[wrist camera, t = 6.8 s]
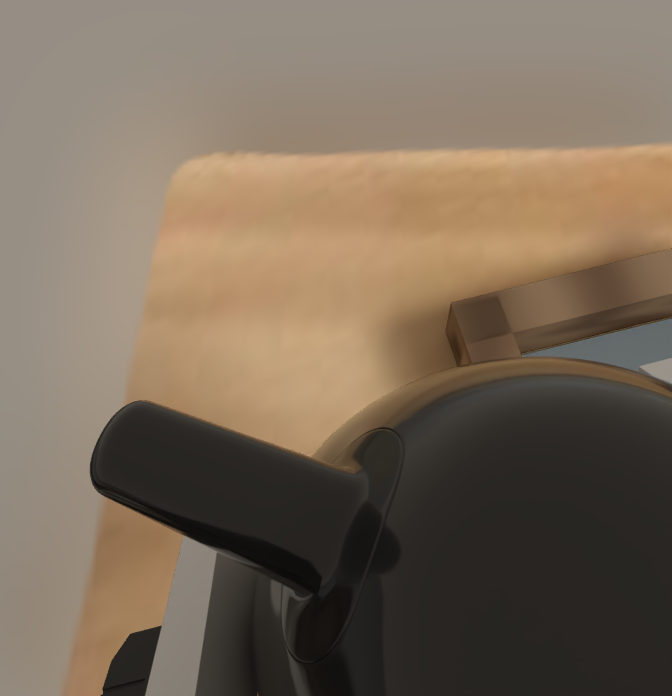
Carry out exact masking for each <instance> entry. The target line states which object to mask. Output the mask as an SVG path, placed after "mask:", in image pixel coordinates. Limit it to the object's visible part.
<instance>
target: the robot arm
mask: <svg viewBox="0 0 672 696" xmlns="http://www.w3.org/2000/svg"><path fill="white" fill-rule="evenodd" d="M639 372H642V373H645V374H648V375H651V376H654V377H657V378H659V379H662V380H665V381H667V382H670V383H672V358H669V359H665V360H661V361H658V362H654V363H650V364H646V365H642V366H639ZM257 573H258V572H256V571H254V570H252V569H250V568H248V567H246V566H244V565H242V564H240V563H238V562H236V561H234V560H232V559H230V558H228V557H226V556H224V555H222V554H220V553H218V552H216V551H214V550H212V549H210V548H208V547H206V546H204V545H202V544H200V543H198V542H196V541H194V540H192V539H190V538H188V537H186V536H183V540H182V544H181V548H180V552H179V557H178V561H177V565H176V569H175V573H174V577H173V582H172V586H171V590H170V594H169V598H168V602H167V607H166V611H165V615H164V619H163V623H162V626H159V627H155V628H151V629H147V630H143V631H139V632H135V633H132V634H130V635H129V636H128V638H127V639H126V641H125V642H124V644H123V645H122V647H121V648H120V649H119V651H118V652H117V654H116V655H115V657H114V658H113V660H112V661H111V664H110V667H109V671H108V674H107V677H106V680H105V683H104V686H103V695H101V696H257V685H256V679H255V672H254V663H253V650H252V614H253V601H254V592H255V585H256V579H257Z"/></svg>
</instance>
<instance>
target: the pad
mask: <svg viewBox="0 0 672 696" xmlns="http://www.w3.org/2000/svg"><path fill="white" fill-rule="evenodd" d="M531 356H545V357H565V358H575V359H583V360H590V361H596V362H602V363H607V364H611V365H616V366H620V367H624V368H628V369H631V370H635V371H638V372H639V366H642V365H646V364H650V363H654V362H658V361H661V360H665V359H669V358H672V318H671V319H666V320H662V321H658V322H654V323H650V324H646V325H642V326H638V327H634V328H630V329H626V330H622V331H618V332H614V333H610V334H606V335H602V336H598V337H594V338H590V339H586V340H582V341H578V342H574V343H570V344H566V345H561V346H557V347H553V348H549V349H545V350H541V351H537V352H533V353H529V354H525V355H522V357H531Z"/></svg>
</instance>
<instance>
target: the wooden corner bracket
mask: <svg viewBox="0 0 672 696" xmlns="http://www.w3.org/2000/svg"><path fill="white" fill-rule="evenodd" d="M671 316H672V248H671V249H667V250H663V251H659V252H655V253H651V254H647V255H643V256H639V257H635V258H631V259H627V260H623V261H619V262H615V263H611V264H607V265H603V266H598V267H594V268H590V269H586V270H582V271H578V272H574V273H570V274H566V275H562V276H558V277H554V278H550V279H546V280H542V281H538V282H534V283H530V284H526V285H521V286H517V287H513V288H509V289H505V290H501V291H497V292H493V293H489V294H485V295H481V296H477V297H473V298H469V299H465V300H461V301H457V302H453V303H451V306H450V311H449V316H448V321H447V326H446V333H447V336H448V339H449V342H450V345H451V348H452V351H453V354H454V357H455V360H456V362H457V365H458V366H461V365H465V364H469V363H474V362H480V361H485V360H492V359H500V358H511V357H522V355H521V353H525V352H529V351H533V350H537V349H541V348H545V347H549V346H553V345H557V344H562V343H566V342H570V341H574V340H578V339H582V338H586V337H590V336H594V335H598V334H602V333H606V332H610V331H614V330H618V329H622V328H626V327H630V326H634V325H638V324H642V323H646V322H650V321H654V320H658V319H662V318H667V317H671Z"/></svg>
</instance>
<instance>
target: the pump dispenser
mask: <svg viewBox="0 0 672 696" xmlns="http://www.w3.org/2000/svg"><path fill="white" fill-rule="evenodd" d="M90 476H91V481H92V484H93V486H94V488H95V489H96V490H97V491H98V493H100V494H101V495H103V496H105V497H107V498H109V499H111V500H113V501H115V502H117V503H119V504H121V505H123V506H125V507H127V508H129V509H131V510H133V511H135V512H137V513H139V514H141V515H143V516H145V517H147V518H149V519H151V520H153V521H155V522H157V523H159V524H161V525H163V526H165V527H167V528H169V529H171V530H173V531H175V532H177V533H180V534H182V535H184V536H186V537H188V538H190V539H192V540H194V541H196V542H198V543H200V544H202V545H204V546H206V547H208V548H210V549H212V550H214V551H216V552H218V553H220V554H222V555H224V556H226V557H228V558H230V559H232V560H234V561H236V562H238V563H240V564H242V565H244V566H246V567H248V568H250V569H252V570H254V571H256V572H258V573H257V579H256V585H255V592H254V601H253V614H252V650H253V663H254V672H255V679H256V685H257V691H258V696H672V383H670V382H667V381H665V380H662V379H659V378H657V377H654V376H651V375H648V374H645V373H642V372H638V371H635V370H631V369H628V368H624V367H620V366H616V365H611V364H607V363H602V362H596V361H590V360H583V359H575V358H565V357H545V356H531V357H511V358H500V359H492V360H485V361H480V362H474V363H469V364H465V365H461V366H457V367H453V368H450V369H446V370H443V371H440V372H437V373H434V374H431V375H429V376H426V377H423V378H421V379H418V380H416V381H414V382H411V383H409V384H407V385H405V386H403V387H401V388H399V389H396V390H394V391H393V392H391V393H389V394H387V395H385V396H383V397H382V398H380V399H378V400H377V401H375V402H373V403H372V404H370V405H369V406H367V407H366V408H364V409H363V410H361V411H360V412H358V413H357V414H356V415H354V416H353V417H352V418H350V419H349V420H348V421H347V422H346V423H344V424H343V425H342V426H341V427H340V428H339V429H337V430H336V431H335V432H334V433H333V434H332V435H331V436H330V437H329V438H328V439H327V440H326V441H325V442H324V443H323V444H322V445H321V446H320V447H319V449H318V450H317V451H316V452H315V453H314V454H313V456H312V457H309V456H306V455H303V454H301V453H298V452H295V451H292V450H289V449H286V448H283V447H280V446H277V445H275V444H272V443H269V442H266V441H263V440H260V439H257V438H254V437H252V436H249V435H246V434H243V433H240V432H237V431H234V430H232V429H229V428H226V427H223V426H220V425H217V424H214V423H211V422H209V421H206V420H203V419H200V418H197V417H194V416H191V415H188V414H186V413H183V412H180V411H177V410H174V409H171V408H168V407H165V406H163V405H160V404H157V403H154V402H151V401H147V400H139V401H135V402H132V403H130V404H128V405H126V406H124V407H123V408H121V409H120V410H119V411H118V412H117V413H116V414H115V415H114V416H113V417H112V418H111V419H110V421H109V422H108V423H107V425H106V426H105V428H104V429H103V431H102V433H101V435H100V437H99V439H98V441H97V443H96V446H95V448H94V451H93V453H92V457H91V462H90Z"/></svg>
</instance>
